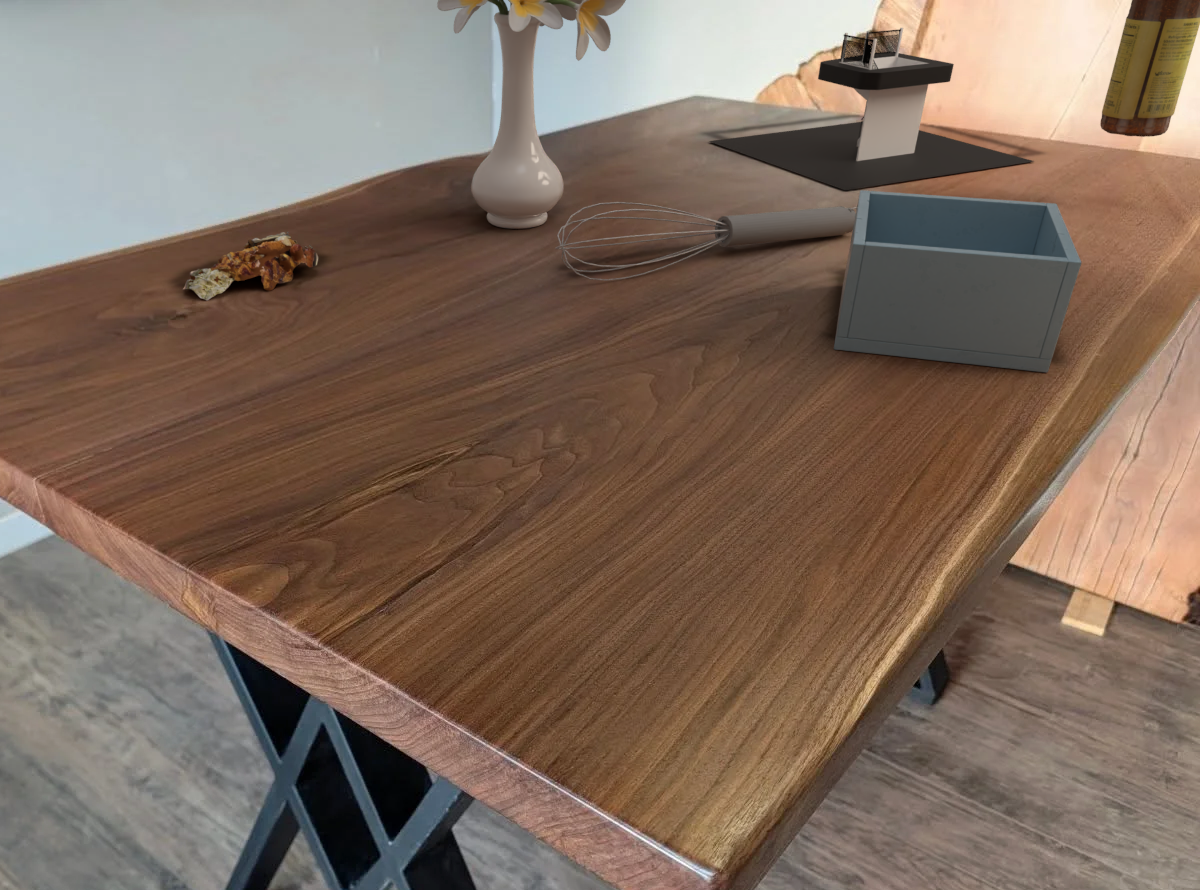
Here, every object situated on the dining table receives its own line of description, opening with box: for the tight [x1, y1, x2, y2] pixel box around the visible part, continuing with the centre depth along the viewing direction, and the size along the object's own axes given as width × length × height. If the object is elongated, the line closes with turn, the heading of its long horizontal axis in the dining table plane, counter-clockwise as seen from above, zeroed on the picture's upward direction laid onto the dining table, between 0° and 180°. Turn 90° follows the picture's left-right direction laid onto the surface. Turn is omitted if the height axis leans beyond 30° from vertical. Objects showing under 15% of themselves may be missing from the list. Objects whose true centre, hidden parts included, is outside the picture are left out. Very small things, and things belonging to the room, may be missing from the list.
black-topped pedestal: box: [708, 27, 1035, 191], centre depth 125 cm, size 28×26×13 cm
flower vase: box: [436, 0, 627, 230], centre depth 100 cm, size 13×18×25 cm
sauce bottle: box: [1099, 0, 1200, 138], centre depth 99 cm, size 7×6×20 cm
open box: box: [833, 189, 1082, 374], centre depth 80 cm, size 15×15×8 cm
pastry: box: [182, 231, 319, 301], centre depth 92 cm, size 7×12×4 cm, turn 137°
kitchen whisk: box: [554, 201, 857, 282], centre depth 95 cm, size 6×34×6 cm, turn 115°
